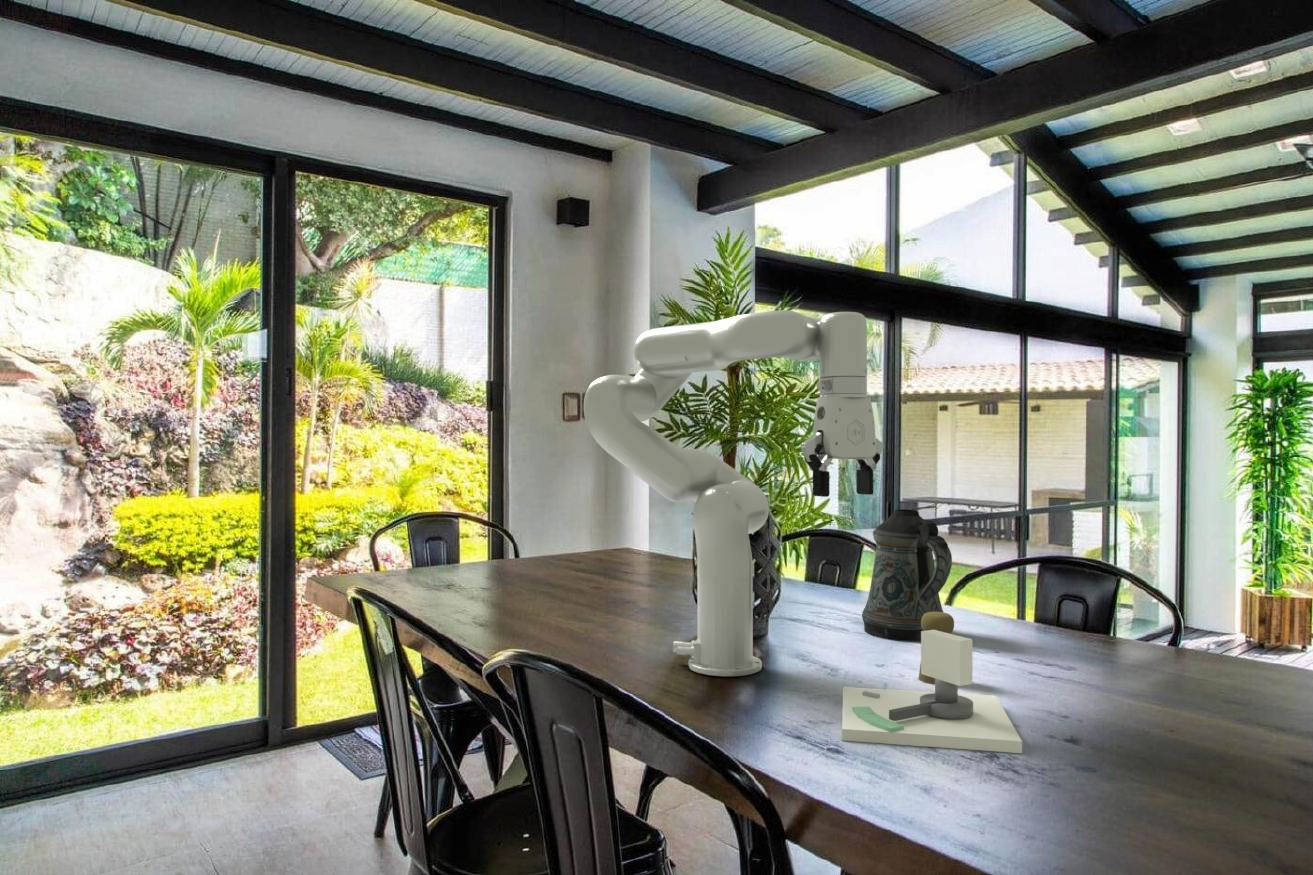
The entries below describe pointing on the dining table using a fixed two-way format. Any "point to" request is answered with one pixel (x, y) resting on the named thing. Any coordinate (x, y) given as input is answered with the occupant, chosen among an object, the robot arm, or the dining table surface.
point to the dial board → (926, 722)
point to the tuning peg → (942, 677)
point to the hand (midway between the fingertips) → (843, 495)
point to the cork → (939, 623)
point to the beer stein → (905, 576)
